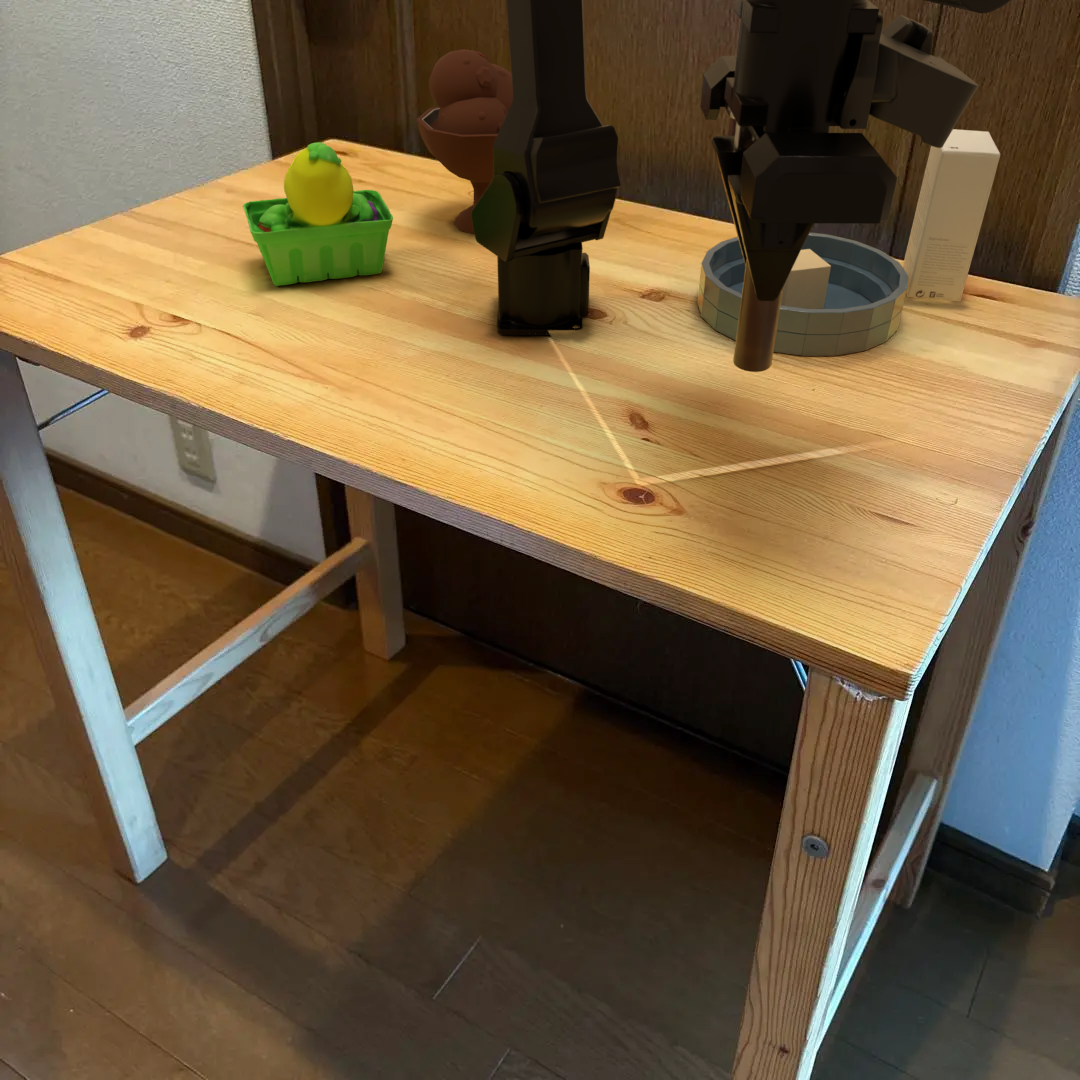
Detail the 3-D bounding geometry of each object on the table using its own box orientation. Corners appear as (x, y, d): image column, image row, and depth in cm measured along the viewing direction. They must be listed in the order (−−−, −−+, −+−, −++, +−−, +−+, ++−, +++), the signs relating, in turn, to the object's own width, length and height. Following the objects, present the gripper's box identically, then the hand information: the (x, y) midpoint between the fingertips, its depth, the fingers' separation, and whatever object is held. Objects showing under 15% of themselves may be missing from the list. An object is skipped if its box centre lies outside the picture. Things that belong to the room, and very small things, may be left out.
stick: (736, 372, 59) (762, 180, 53) (730, 354, 61) (754, 165, 54) (774, 372, 59) (805, 180, 53) (767, 354, 61) (796, 165, 54)
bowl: (712, 363, 75) (718, 312, 72) (686, 277, 87) (691, 231, 84) (922, 363, 75) (935, 312, 72) (867, 277, 87) (877, 230, 84)
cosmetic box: (960, 308, 82) (1002, 154, 75) (905, 303, 83) (940, 150, 75) (952, 277, 87) (990, 129, 80) (899, 273, 88) (933, 126, 80)
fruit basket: (381, 244, 92) (369, 112, 85) (403, 283, 86) (391, 143, 79) (251, 260, 89) (227, 124, 83) (263, 301, 83) (238, 158, 76)
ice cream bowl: (502, 254, 90) (498, 71, 81) (401, 229, 95) (386, 53, 86) (564, 217, 98) (567, 44, 88) (467, 195, 102) (460, 29, 93)
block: (782, 313, 80) (789, 270, 78) (762, 295, 83) (769, 253, 80) (823, 308, 81) (831, 265, 78) (802, 290, 83) (809, 248, 81)
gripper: (1063, 17, 41) (962, 372, 50) (922, -58, 55) (865, 227, 65) (779, 16, 40) (732, 372, 50) (714, -59, 55) (687, 227, 65)
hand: (762, 290), depth 57 cm, fingers closed on stick, 2 cm apart
